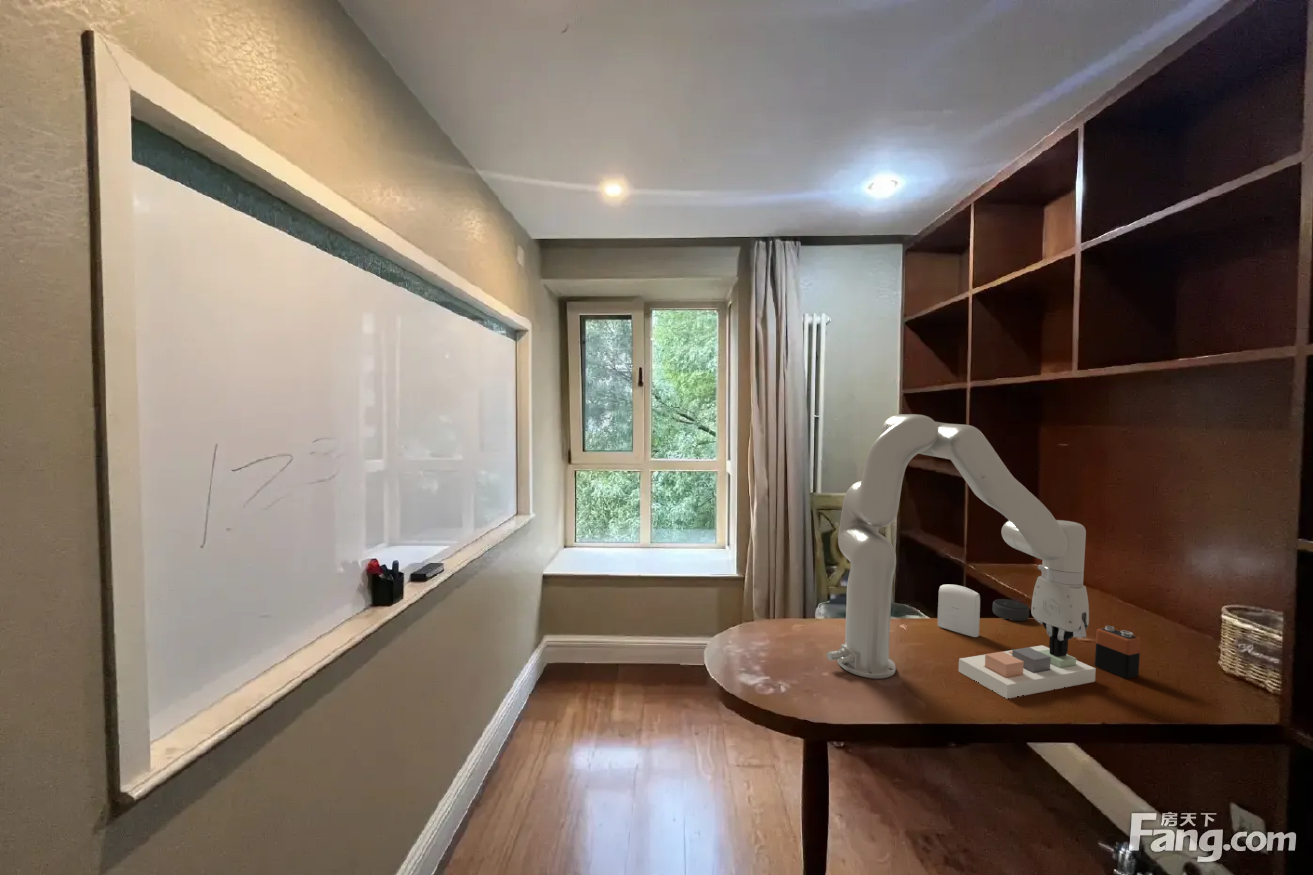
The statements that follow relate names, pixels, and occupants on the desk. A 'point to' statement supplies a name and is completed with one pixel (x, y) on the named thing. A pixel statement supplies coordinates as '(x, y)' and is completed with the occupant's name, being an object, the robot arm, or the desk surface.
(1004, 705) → the desk surface
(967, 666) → the white flat slab
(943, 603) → the photo printer
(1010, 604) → the smart speaker
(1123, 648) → the battery
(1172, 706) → the desk surface
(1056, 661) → the sage key
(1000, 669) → the terracotta key
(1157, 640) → the desk surface
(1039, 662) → the charcoal key
